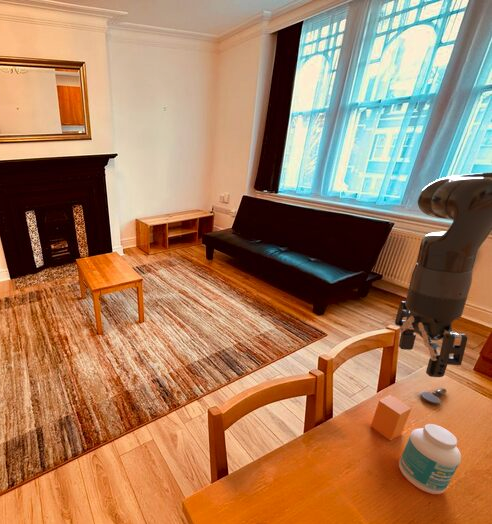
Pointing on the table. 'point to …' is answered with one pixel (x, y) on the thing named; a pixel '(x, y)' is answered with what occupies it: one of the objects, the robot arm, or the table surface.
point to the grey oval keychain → (433, 396)
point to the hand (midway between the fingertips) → (418, 361)
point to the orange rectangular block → (390, 417)
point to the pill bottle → (430, 458)
